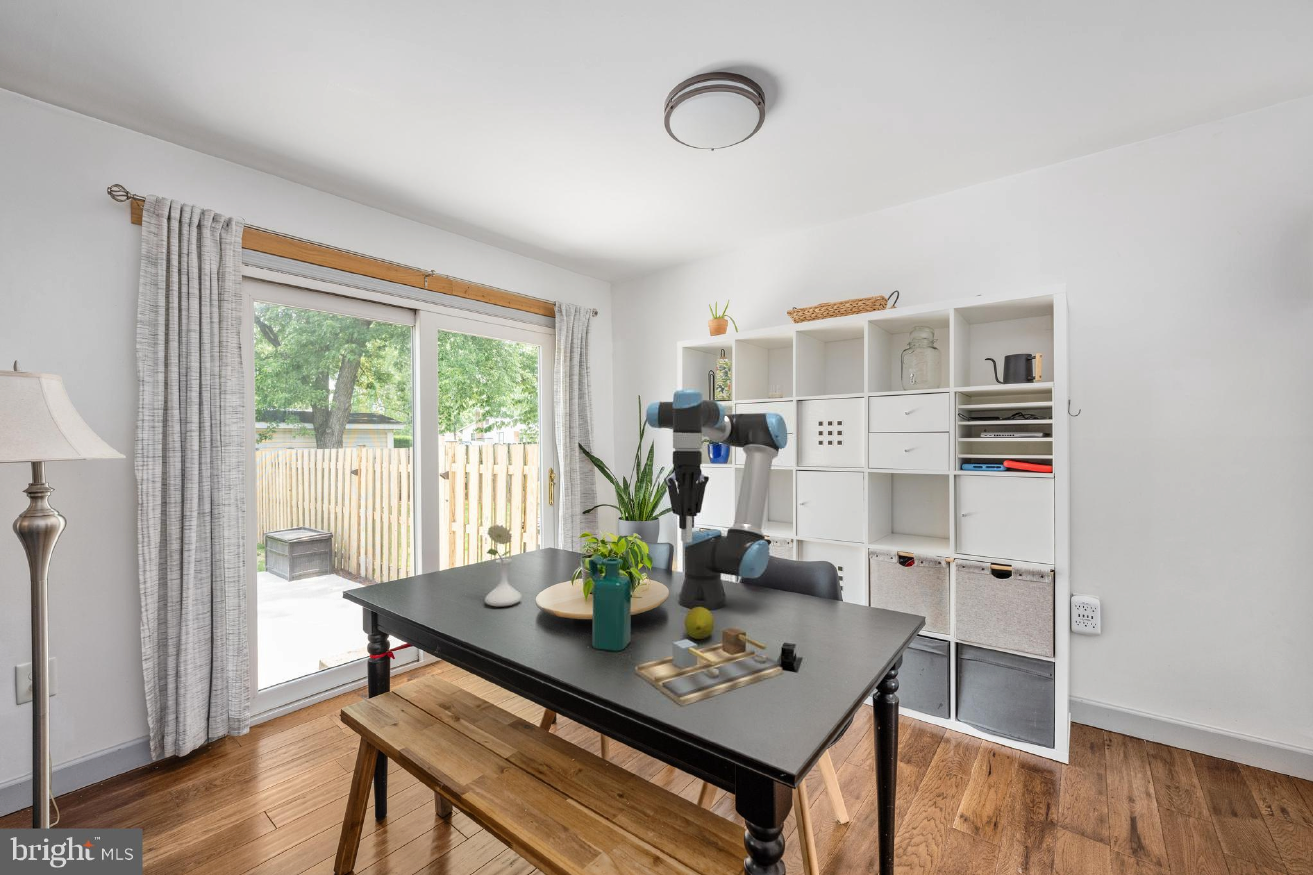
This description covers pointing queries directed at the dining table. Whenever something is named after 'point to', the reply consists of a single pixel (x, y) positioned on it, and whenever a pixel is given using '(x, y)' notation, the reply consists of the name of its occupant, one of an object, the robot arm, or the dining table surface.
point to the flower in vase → (501, 571)
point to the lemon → (699, 623)
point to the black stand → (789, 658)
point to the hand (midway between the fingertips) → (686, 541)
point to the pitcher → (610, 605)
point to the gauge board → (706, 692)
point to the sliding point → (688, 654)
